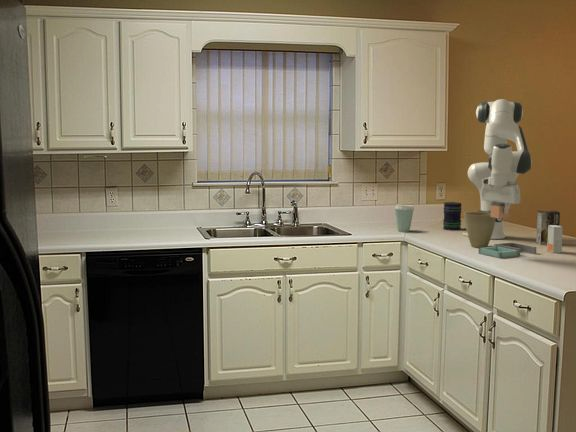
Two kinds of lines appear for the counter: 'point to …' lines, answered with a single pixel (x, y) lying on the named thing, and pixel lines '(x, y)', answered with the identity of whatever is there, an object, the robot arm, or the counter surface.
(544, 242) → the coffee box
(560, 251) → the skincare box
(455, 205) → the storage jar
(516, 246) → the bay
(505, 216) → the orange-topped grey box
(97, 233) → the counter surface
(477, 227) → the plant pot
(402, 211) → the disposable coffee cup
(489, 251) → the tray
